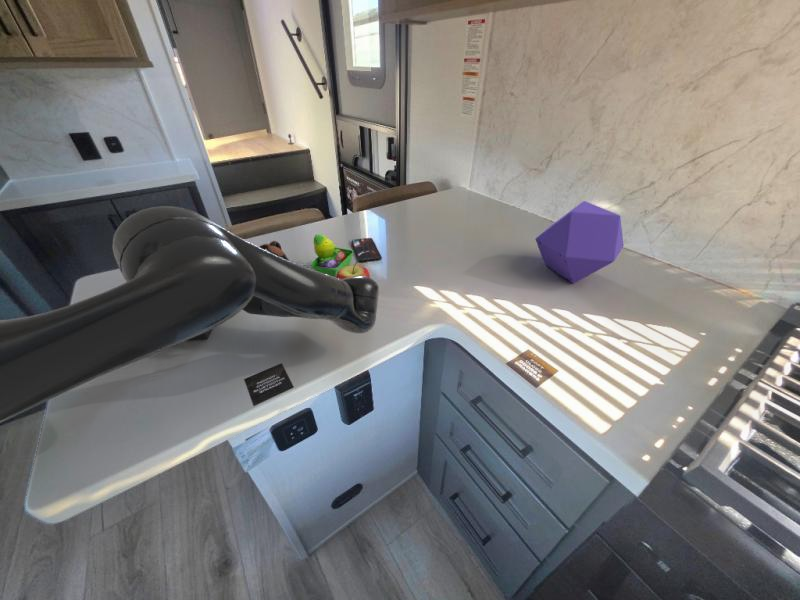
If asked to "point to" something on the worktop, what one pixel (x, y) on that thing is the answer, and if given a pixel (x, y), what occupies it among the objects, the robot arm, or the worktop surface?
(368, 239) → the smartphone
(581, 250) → the purple polyhedron
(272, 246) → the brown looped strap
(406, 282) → the worktop surface
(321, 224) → the worktop surface
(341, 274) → the apple
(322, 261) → the fruit basket
